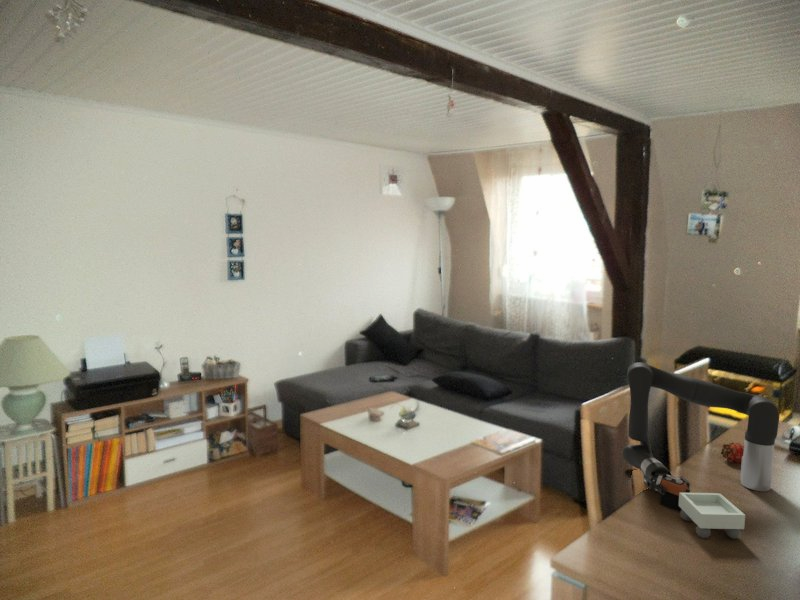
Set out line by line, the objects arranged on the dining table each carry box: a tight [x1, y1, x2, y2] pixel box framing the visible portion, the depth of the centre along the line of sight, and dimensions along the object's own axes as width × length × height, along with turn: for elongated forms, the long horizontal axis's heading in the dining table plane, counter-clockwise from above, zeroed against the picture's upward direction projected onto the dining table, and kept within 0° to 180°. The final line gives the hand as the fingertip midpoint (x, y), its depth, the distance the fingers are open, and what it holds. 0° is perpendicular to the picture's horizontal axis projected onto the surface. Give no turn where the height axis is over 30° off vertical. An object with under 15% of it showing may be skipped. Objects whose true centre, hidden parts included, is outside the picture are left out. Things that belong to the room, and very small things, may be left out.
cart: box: [678, 492, 746, 540], centre depth 174 cm, size 14×13×8 cm
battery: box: [659, 476, 687, 513], centre depth 188 cm, size 4×7×10 cm, turn 38°
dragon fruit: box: [720, 442, 744, 464], centre depth 226 cm, size 8×8×12 cm
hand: (676, 492), depth 185 cm, fingers closed on battery, 7 cm apart
